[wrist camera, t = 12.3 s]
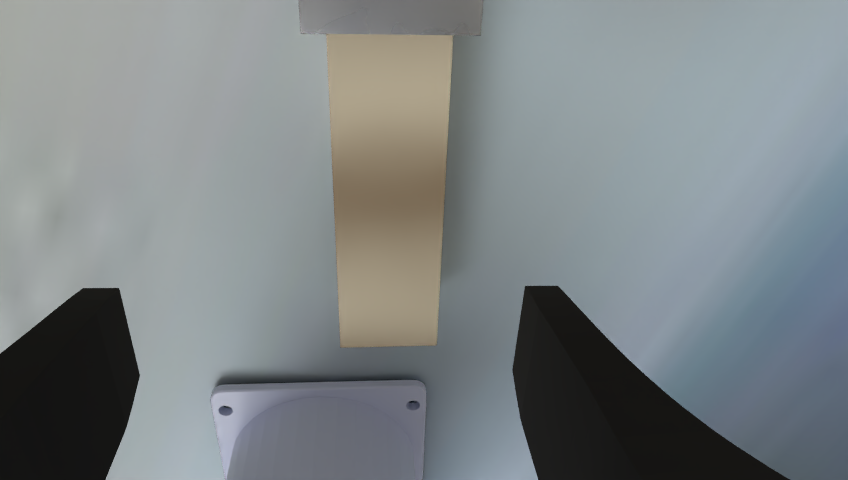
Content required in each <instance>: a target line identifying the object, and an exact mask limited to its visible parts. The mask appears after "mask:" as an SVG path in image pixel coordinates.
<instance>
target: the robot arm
mask: <svg viewBox="0 0 848 480" xmlns="http://www.w3.org/2000/svg"><path fill="white" fill-rule="evenodd" d="M139 376H140V374H139V370H138V366H137V362H136V357H135V353H134V349H133V345H132V341H131V336H130V332H129V328H128V324H127V319H126V315H125V311H124V307H123V303H122V298H121V294H120V290H119V288H83V289H81V290H80V291H79V292H77V293H76V294H75V295H73V296H72V297H71V298H69V299H68V300H67V301H66V302H64V303H63V304H62V305H61V306H59V307H58V308H57V309H56V310H54V311H53V312H52V313H51V314H49V315H48V316H47V317H46V318H44V319H43V320H42V321H41V322H40V323H38V324H37V325H36V326H35V327H33V328H32V329H31V330H30V331H28V332H27V333H26V334H25V335H23V336H22V337H21V338H20V339H18V340H17V341H16V342H15V343H13V344H12V345H11V346H9V347H8V348H7V349H6V350H4V351H3V352H2V353H1V354H0V480H105V479H106V477H107V474H108V472H109V469H110V467H111V464H112V462H113V460H114V457H115V455H116V452H117V450H118V447H119V445H120V442H121V440H122V437H123V435H124V432H125V430H126V427H127V423H128V420H129V416H130V412H131V409H132V405H133V401H134V397H135V393H136V389H137V385H138V381H139ZM513 376H514V382H515V389H516V395H517V401H518V407H519V413H520V419H521V422H522V426H523V429H524V433H525V436H526V439H527V443H528V446H529V450H530V453H531V456H532V460H533V463H534V466H535V470H536V473H537V476H538V480H790V479H788V478H786V477H784V476H783V475H781V474H779V473H778V472H776V471H774V470H773V469H771V468H769V467H768V466H766V465H765V464H763V463H762V462H760V461H759V460H757V459H755V458H754V457H752V456H751V455H749V454H748V453H746V452H745V451H743V450H741V449H740V448H738V447H737V446H735V445H734V444H732V443H731V442H729V441H728V440H727V439H725V438H724V437H722V436H721V435H719V434H718V433H717V432H715V431H714V430H712V429H711V428H710V427H708V426H707V425H706V424H704V423H703V422H702V421H701V420H699V419H698V418H697V417H695V416H694V415H693V414H691V413H690V412H689V411H687V410H686V409H685V408H683V407H682V406H681V405H680V404H678V403H677V402H676V401H675V400H673V399H672V398H671V397H670V396H669V395H667V394H666V393H665V392H664V391H663V390H662V389H661V388H659V387H658V386H657V385H656V384H655V383H654V382H653V381H651V380H650V379H649V378H648V377H647V376H646V375H645V374H644V373H642V372H641V371H640V370H639V369H638V368H637V367H636V366H635V365H634V364H633V363H632V362H631V361H630V360H629V359H627V358H626V357H625V356H624V355H623V354H622V353H621V352H620V351H619V350H618V349H617V348H616V347H615V346H614V345H613V344H612V343H611V342H610V341H609V340H608V339H607V338H606V337H605V336H604V334H603V333H602V332H601V331H600V330H599V329H598V328H597V327H596V326H595V325H594V324H593V323H592V322H591V321H590V320H589V319H588V318H587V316H586V315H585V314H584V313H583V312H582V311H581V310H580V309H579V308H578V307H577V306H576V305H575V304H574V303H573V301H572V300H571V299H570V298H569V297H568V296H567V295H566V294H565V293H564V292H563V291H562V290H561V289H560V288H559V287H558V286H525V290H524V297H523V304H522V310H521V317H520V324H519V330H518V337H517V344H516V350H515V357H514V363H513ZM210 401H211V407H212V412H213V417H214V423H215V428H216V433H217V439H218V444H219V449H220V455H221V460H222V465H223V471H224V476H225V480H423V461H424V439H425V417H426V387H425V385H424V384H423V383H422V382H421V381H418V380H385V381H345V382H306V383H266V384H226V385H219V386H217V387H215V388H214V389H213V391H212V394H211V399H210ZM409 401H417V402H415V403H409ZM223 406H229V407H231V408H225V407H223Z"/></svg>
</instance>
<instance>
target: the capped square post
mask: <svg viewBox="0 0 848 480" xmlns="http://www.w3.org/2000/svg"><path fill="white" fill-rule="evenodd" d="M482 10H483V0H299V15H300V31H301V34H326V36H327V58H328V81H329V103H330V125H331V147H332V170H333V192H334V214H335V236H336V259H337V281H338V303H339V325H340V348H346V347H390V346H434V345H437V330H438V311H439V292H440V273H441V254H442V236H443V217H444V198H445V179H446V160H447V142H448V123H449V104H450V85H451V66H452V48H453V35H474V36H481V24H482Z"/></svg>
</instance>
